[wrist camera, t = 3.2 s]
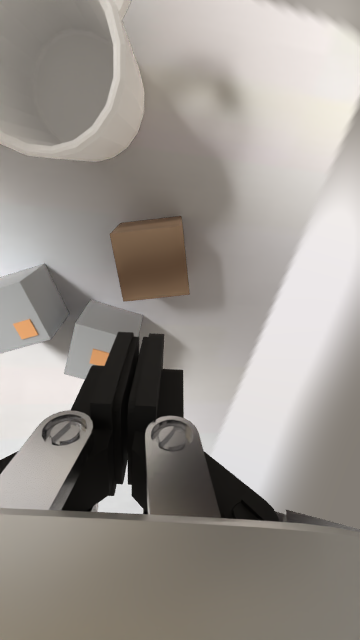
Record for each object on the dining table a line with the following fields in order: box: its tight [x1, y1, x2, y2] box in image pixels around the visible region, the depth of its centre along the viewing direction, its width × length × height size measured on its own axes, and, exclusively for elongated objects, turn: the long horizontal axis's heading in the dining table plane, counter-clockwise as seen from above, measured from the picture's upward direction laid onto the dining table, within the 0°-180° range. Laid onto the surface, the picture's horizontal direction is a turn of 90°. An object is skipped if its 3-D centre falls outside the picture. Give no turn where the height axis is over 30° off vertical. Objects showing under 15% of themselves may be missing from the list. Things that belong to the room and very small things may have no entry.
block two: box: [0, 264, 69, 353], centre depth 26 cm, size 5×5×5 cm
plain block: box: [110, 216, 190, 302], centre depth 25 cm, size 5×5×5 cm
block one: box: [64, 300, 143, 379], centre depth 28 cm, size 5×5×5 cm
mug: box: [0, 0, 145, 162], centre depth 17 cm, size 8×12×10 cm, turn 139°
